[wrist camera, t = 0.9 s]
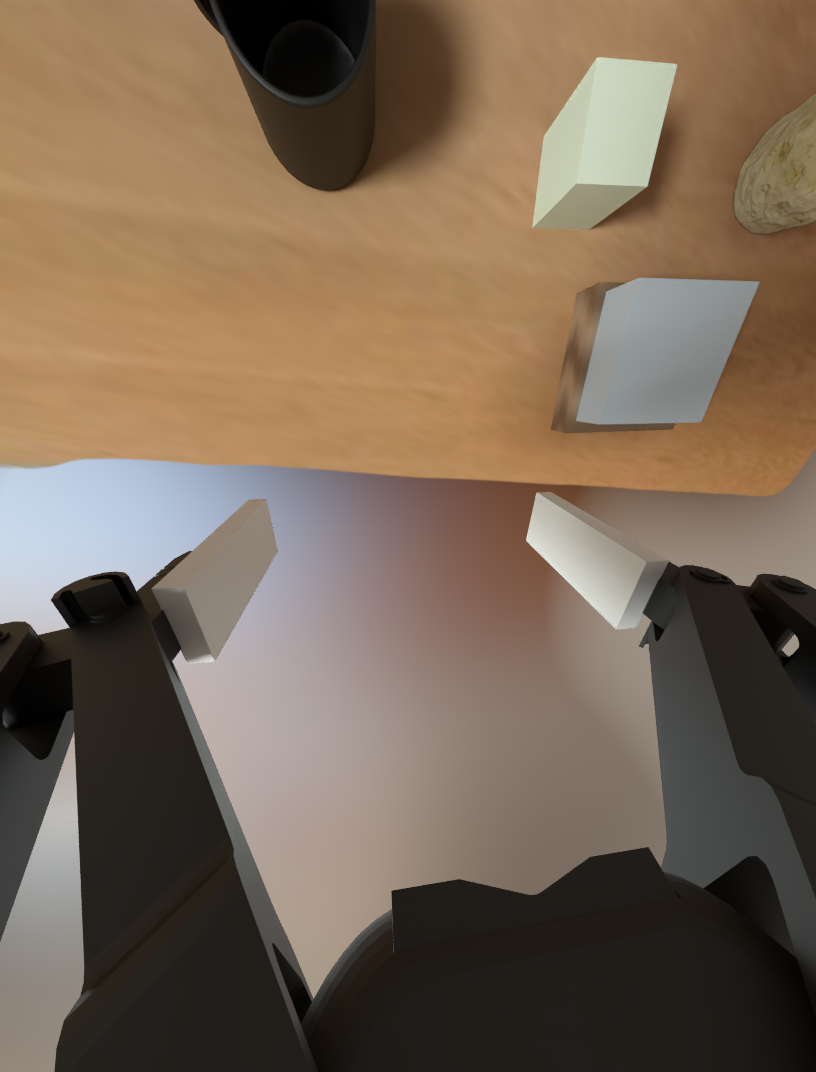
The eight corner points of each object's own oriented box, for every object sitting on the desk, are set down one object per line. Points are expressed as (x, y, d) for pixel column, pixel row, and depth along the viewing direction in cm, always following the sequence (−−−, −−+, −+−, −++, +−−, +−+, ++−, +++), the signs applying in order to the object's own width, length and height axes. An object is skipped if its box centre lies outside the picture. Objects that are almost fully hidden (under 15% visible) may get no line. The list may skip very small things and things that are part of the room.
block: (543, 136, 26) (597, 57, 20) (605, 140, 27) (677, 64, 20) (532, 228, 29) (576, 183, 23) (588, 229, 29) (647, 186, 23)
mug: (224, -45, 20) (128, -329, 12) (388, 61, 23) (397, -114, 15) (217, 142, 24) (139, 18, 16) (359, 214, 27) (353, 139, 19)
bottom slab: (573, 294, 32) (599, 282, 28) (688, 296, 33) (726, 284, 30) (548, 429, 38) (566, 433, 35) (646, 425, 40) (673, 429, 36)
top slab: (606, 291, 29) (639, 277, 25) (713, 294, 30) (760, 281, 26) (575, 420, 34) (599, 424, 31) (668, 419, 35) (701, 422, 32)
